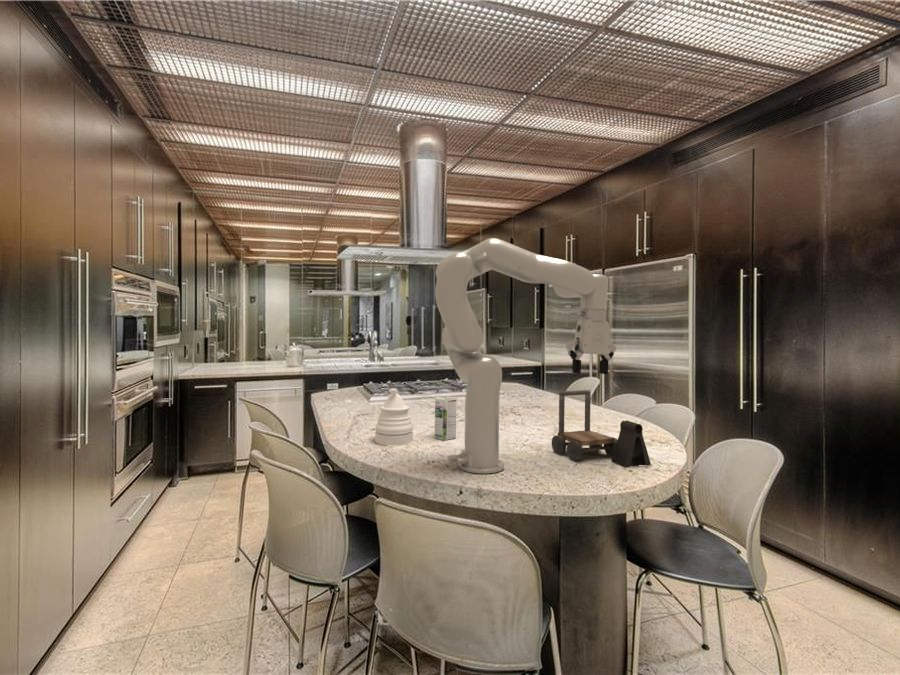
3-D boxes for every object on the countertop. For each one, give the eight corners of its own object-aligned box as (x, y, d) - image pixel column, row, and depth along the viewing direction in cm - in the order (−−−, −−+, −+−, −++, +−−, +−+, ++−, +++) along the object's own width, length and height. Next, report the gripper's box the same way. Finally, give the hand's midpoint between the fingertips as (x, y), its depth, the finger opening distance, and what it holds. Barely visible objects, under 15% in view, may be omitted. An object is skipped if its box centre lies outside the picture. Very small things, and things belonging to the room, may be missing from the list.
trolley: (578, 463, 133) (579, 397, 133) (551, 451, 146) (552, 391, 146) (620, 458, 139) (621, 394, 139) (591, 447, 152) (591, 389, 151)
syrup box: (433, 438, 163) (434, 397, 163) (445, 435, 167) (446, 395, 167) (444, 441, 159) (444, 399, 159) (456, 438, 163) (457, 397, 163)
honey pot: (411, 446, 152) (411, 391, 151) (372, 445, 152) (372, 391, 152) (414, 437, 164) (414, 386, 164) (378, 436, 165) (379, 386, 164)
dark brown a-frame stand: (624, 467, 129) (625, 425, 129) (611, 461, 135) (611, 421, 135) (650, 465, 132) (651, 423, 132) (636, 459, 138) (637, 419, 138)
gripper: (576, 314, 131) (573, 374, 131) (625, 317, 137) (622, 375, 137) (561, 314, 138) (558, 371, 138) (608, 318, 144) (605, 373, 144)
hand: (590, 373), depth 137 cm, fingers open, 9 cm apart
